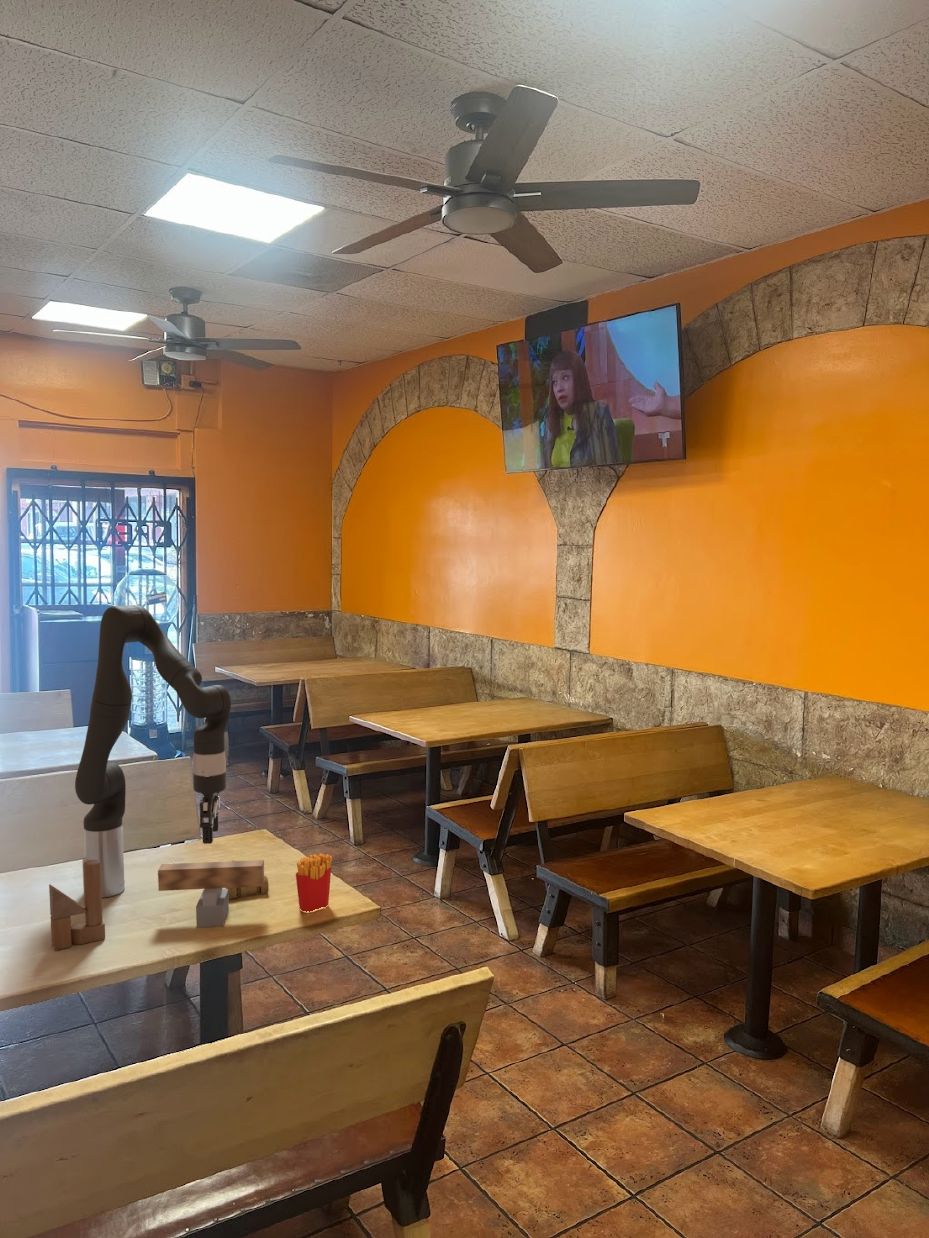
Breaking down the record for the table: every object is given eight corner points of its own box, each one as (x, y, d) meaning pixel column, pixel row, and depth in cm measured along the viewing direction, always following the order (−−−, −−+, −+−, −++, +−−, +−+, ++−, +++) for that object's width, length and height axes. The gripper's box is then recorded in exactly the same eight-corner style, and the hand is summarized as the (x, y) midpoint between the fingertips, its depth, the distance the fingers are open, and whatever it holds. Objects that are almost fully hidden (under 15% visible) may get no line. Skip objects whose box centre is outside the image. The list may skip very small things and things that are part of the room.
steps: (196, 927, 214) (195, 894, 213) (203, 909, 224) (202, 878, 223) (222, 925, 214) (222, 892, 214) (228, 908, 224) (228, 877, 223)
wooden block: (51, 945, 204) (48, 867, 203) (101, 933, 210) (98, 857, 209) (54, 951, 201) (51, 872, 200) (105, 939, 207) (102, 862, 206)
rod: (158, 890, 215) (157, 870, 214) (162, 884, 219) (161, 864, 218) (262, 886, 218) (262, 865, 217) (264, 879, 222) (263, 859, 221)
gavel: (217, 861, 248) (254, 856, 252) (217, 878, 248) (255, 873, 252) (228, 884, 229) (268, 878, 233) (228, 902, 229) (269, 896, 233)
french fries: (302, 915, 220) (301, 863, 219) (294, 909, 224) (293, 858, 222) (335, 905, 226) (334, 854, 225) (327, 900, 229) (326, 850, 228)
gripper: (198, 762, 222) (199, 827, 224) (187, 778, 208) (189, 847, 210) (230, 762, 223) (231, 827, 224) (221, 778, 209) (222, 846, 210)
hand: (210, 837), depth 217 cm, fingers open, 8 cm apart
